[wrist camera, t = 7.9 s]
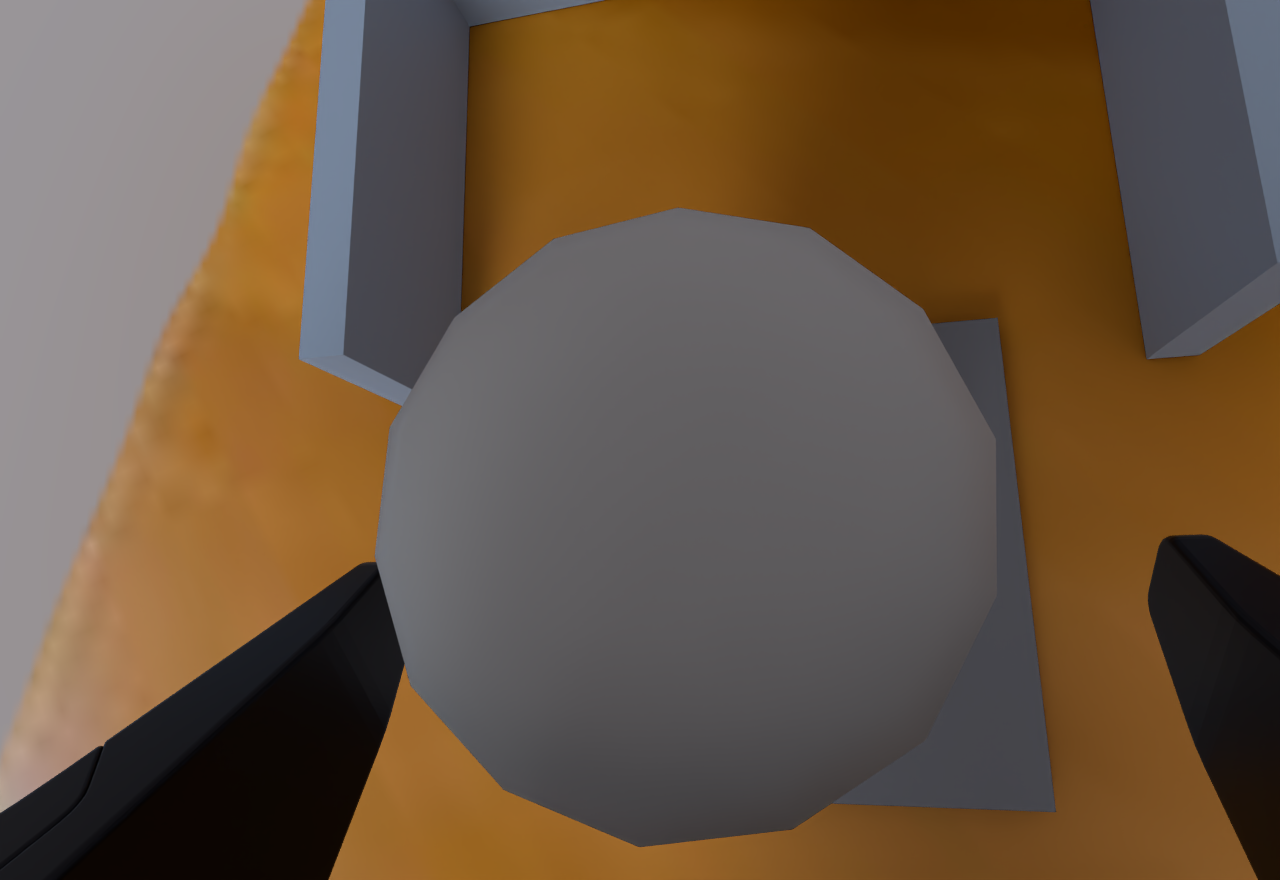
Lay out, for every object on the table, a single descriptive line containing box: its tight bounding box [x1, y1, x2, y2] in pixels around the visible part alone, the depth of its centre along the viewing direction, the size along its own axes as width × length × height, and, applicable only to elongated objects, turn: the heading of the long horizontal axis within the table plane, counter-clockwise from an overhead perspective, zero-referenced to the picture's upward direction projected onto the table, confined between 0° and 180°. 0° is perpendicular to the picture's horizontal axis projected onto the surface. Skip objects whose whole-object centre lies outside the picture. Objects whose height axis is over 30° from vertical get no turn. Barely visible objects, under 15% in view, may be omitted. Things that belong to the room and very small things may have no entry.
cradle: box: [299, 0, 1280, 406], centre depth 17 cm, size 12×18×5 cm
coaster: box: [833, 318, 1056, 812], centre depth 17 cm, size 10×10×1 cm
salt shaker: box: [375, 208, 997, 847], centre depth 11 cm, size 6×6×13 cm
